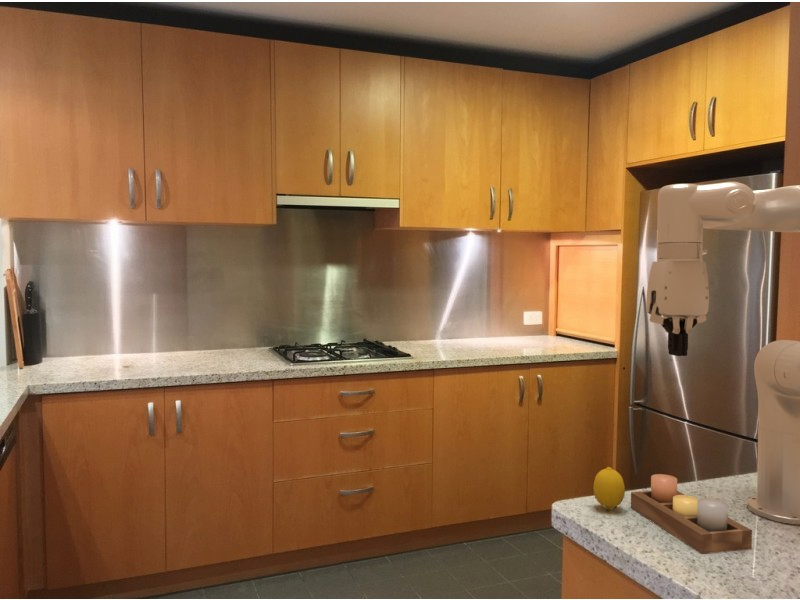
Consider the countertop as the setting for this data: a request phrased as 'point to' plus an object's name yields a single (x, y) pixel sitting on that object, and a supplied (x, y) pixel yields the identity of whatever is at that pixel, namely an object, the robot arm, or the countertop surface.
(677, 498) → the yellow short cylinder
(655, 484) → the pink cylinder
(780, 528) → the countertop surface
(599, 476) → the lemon
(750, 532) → the wooden compartment tray
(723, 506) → the grey short rounded cylinder
